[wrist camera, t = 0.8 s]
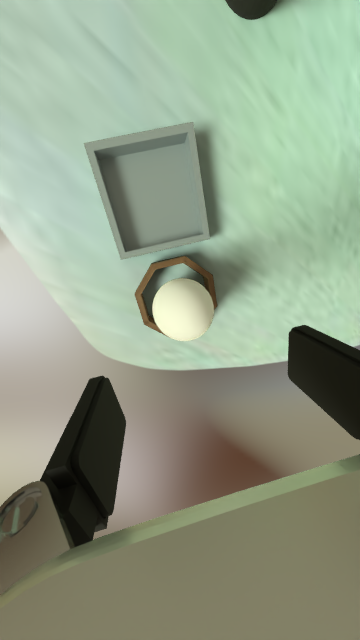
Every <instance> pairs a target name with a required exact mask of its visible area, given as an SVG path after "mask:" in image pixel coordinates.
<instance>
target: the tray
mask: <svg viewBox="0 0 360 640" xmlns="http://www.w3.org/2000/svg"><path fill="white" fill-rule="evenodd" d="M84 146H85V149H86V152H87V155H88V158H89V161H90V164H91V167H92V171H93V174H94V177H95V180H96V183H97V186H98V189H99V192H100V196H101V199H102V202H103V205H104V208H105V211H106V214H107V217H108V220H109V224H110V227H111V230H112V233H113V236H114V239H115V242H116V245H117V249H118V252H119V255H120V258H121V260H122V259H127V258H131V257H135V256H139V255H144V254H148V253H152V252H157V251H161V250H165V249H169V248H174V247H178V246H182V245H186V244H191V243H195V242H199V241H203V240H208V239H210V235H209V228H208V222H207V215H206V208H205V201H204V194H203V187H202V180H201V173H200V166H199V159H198V152H197V145H196V138H195V131H194V124H193V122H190V123H185V124H180V125H174V126H169V127H164V128H159V129H154V130H149V131H144V132H139V133H133V134H128V135H123V136H118V137H113V138H108V139H103V140H98V141H92V142H87V143H84Z"/></svg>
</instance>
